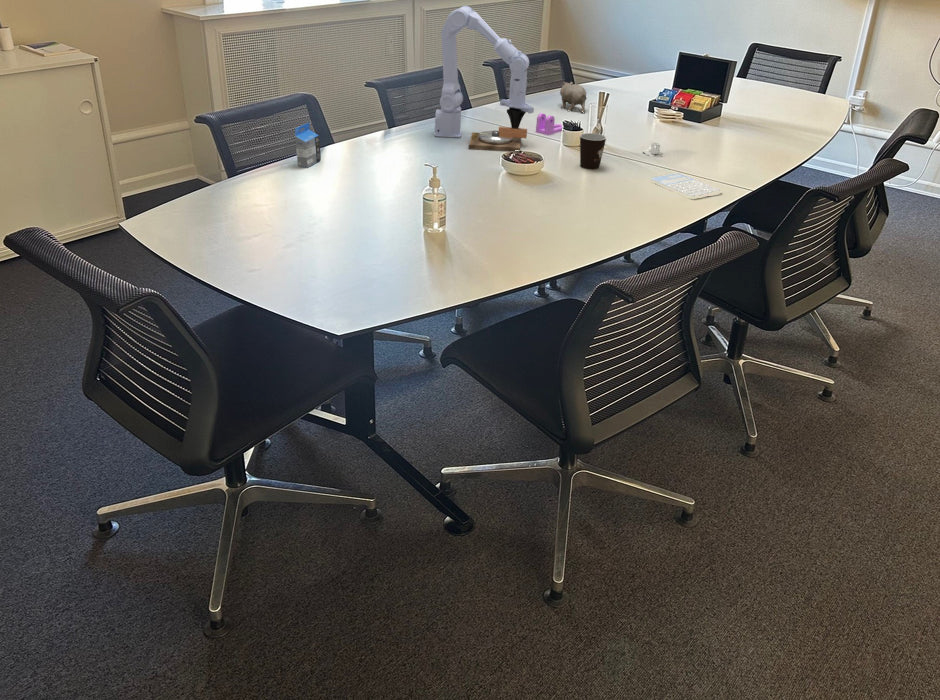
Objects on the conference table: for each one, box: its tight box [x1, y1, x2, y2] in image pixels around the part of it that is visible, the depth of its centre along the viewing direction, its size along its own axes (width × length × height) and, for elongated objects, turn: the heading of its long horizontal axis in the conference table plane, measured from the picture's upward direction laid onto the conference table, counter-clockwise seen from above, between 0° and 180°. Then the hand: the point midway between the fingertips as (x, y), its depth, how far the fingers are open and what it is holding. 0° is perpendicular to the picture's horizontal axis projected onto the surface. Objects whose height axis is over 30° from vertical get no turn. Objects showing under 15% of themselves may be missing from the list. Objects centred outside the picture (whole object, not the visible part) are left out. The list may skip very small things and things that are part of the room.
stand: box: [468, 132, 522, 152], centre depth 291 cm, size 18×16×3 cm
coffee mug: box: [579, 132, 607, 170], centre depth 272 cm, size 12×9×10 cm
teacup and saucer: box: [646, 142, 661, 155], centre depth 289 cm, size 9×8×4 cm
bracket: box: [535, 112, 563, 136], centre depth 309 cm, size 13×6×7 cm, turn 135°
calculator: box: [649, 172, 721, 197], centre depth 258 cm, size 13×20×2 cm, turn 31°
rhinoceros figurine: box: [559, 81, 588, 113], centre depth 340 cm, size 9×15×17 cm
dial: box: [479, 126, 528, 144], centre depth 290 cm, size 17×12×4 cm
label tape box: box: [294, 121, 322, 169], centre depth 261 cm, size 9×4×12 cm, turn 160°
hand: (515, 129), depth 293 cm, fingers closed
